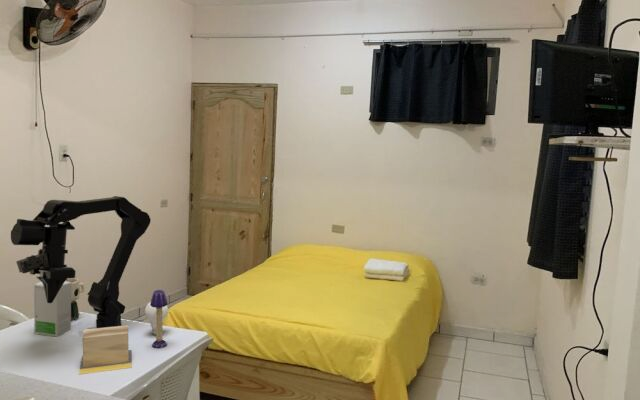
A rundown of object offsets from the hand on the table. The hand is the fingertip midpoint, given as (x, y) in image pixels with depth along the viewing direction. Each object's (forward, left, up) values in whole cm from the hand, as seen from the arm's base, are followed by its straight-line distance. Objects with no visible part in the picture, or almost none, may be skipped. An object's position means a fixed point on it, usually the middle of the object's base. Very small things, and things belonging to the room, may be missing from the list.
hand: (49, 303), depth 138 cm
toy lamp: (-19, +22, -15) cm, 32 cm away
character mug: (-19, -20, -15) cm, 31 cm away
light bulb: (-25, +14, -15) cm, 32 cm away
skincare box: (-10, -14, -15) cm, 23 cm away
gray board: (-4, +17, -14) cm, 23 cm away
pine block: (-5, +17, -14) cm, 22 cm away
